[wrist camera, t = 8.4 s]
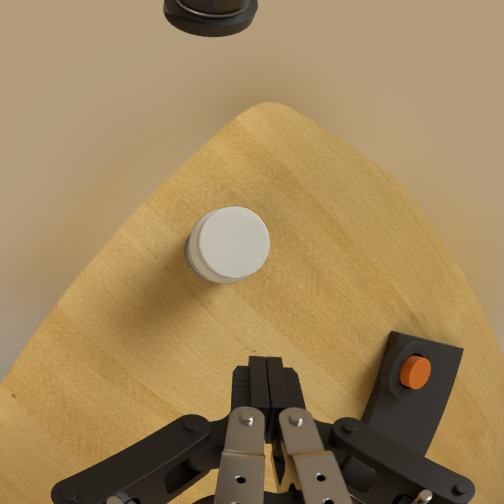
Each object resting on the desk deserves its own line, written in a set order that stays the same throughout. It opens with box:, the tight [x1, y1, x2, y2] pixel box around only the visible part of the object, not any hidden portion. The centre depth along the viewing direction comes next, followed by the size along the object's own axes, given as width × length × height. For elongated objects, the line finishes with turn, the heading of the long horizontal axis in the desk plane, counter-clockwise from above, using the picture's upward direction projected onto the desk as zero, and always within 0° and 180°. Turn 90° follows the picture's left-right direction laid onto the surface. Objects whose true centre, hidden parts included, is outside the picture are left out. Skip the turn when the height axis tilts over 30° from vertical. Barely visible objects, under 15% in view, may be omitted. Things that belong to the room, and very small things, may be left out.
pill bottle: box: [185, 206, 270, 284], centre depth 21 cm, size 5×5×8 cm
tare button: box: [399, 356, 431, 389], centre depth 26 cm, size 3×3×2 cm
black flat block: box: [354, 331, 464, 469], centre depth 28 cm, size 16×14×3 cm
